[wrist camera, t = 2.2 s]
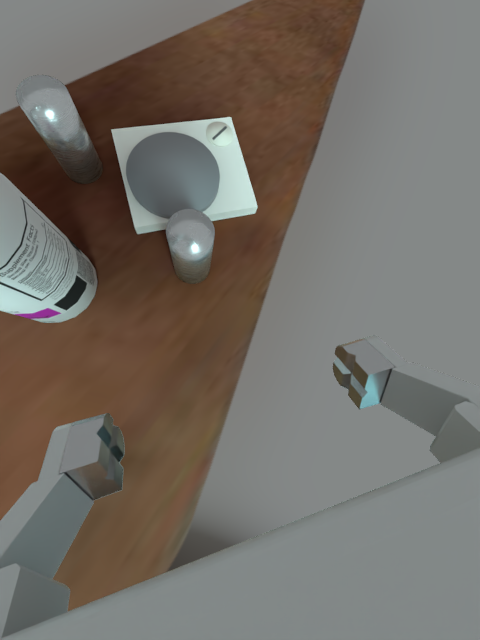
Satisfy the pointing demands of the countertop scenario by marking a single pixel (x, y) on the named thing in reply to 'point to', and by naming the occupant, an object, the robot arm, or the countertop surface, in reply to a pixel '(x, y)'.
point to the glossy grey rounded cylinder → (190, 244)
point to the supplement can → (39, 263)
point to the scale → (183, 171)
